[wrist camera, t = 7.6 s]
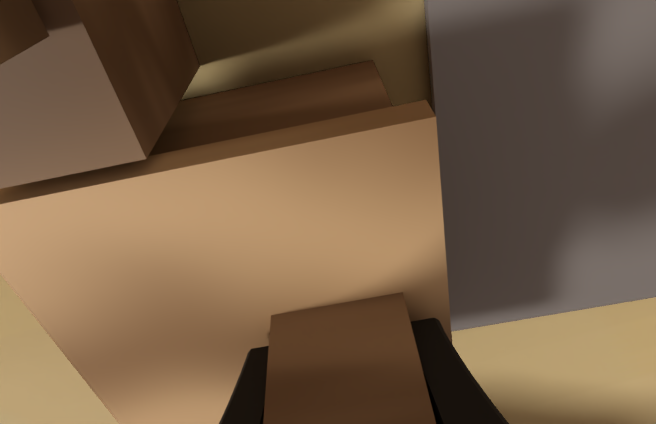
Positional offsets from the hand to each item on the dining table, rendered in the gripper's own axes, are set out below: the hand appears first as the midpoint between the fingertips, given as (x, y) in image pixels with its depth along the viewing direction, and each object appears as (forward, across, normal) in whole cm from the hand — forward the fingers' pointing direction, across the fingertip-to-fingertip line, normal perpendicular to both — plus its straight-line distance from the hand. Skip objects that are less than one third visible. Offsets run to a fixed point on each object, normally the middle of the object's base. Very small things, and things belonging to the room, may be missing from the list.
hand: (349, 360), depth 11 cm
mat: (+6, -9, -1) cm, 11 cm away
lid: (+1, +2, 0) cm, 2 cm away
